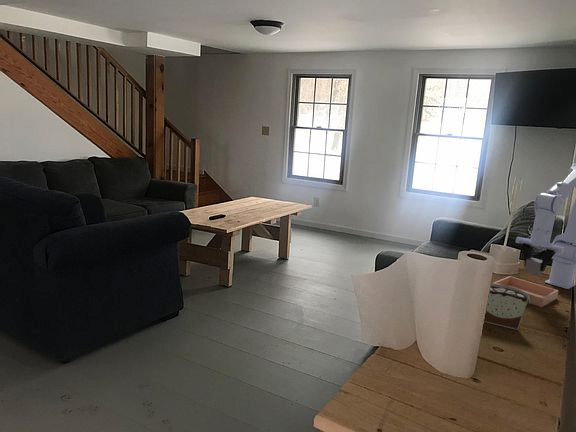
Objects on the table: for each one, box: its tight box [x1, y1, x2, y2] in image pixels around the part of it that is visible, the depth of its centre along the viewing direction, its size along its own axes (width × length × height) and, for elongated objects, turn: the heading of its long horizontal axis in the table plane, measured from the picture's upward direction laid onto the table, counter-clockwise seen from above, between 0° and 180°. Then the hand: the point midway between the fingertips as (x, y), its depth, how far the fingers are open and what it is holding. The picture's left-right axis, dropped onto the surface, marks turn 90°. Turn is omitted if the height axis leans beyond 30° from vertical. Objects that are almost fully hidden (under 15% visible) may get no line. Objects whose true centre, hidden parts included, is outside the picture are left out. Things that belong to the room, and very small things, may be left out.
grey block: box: [523, 257, 544, 276], centre depth 159 cm, size 4×4×4 cm
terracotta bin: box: [492, 275, 559, 308], centre depth 157 cm, size 14×16×3 cm
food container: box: [483, 283, 531, 331], centre depth 132 cm, size 12×6×10 cm, turn 65°
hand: (534, 268), depth 159 cm, fingers closed on grey block, 4 cm apart
